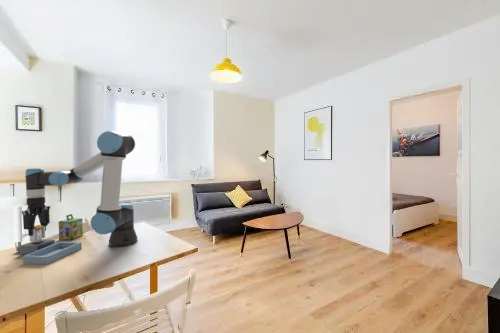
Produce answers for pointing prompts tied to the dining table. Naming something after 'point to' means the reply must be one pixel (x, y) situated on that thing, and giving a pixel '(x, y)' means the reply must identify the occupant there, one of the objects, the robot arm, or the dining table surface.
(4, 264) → the dining table surface
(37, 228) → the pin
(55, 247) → the tray
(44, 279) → the dining table surface
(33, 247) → the hitch block
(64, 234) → the green lunch box
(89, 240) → the dining table surface
